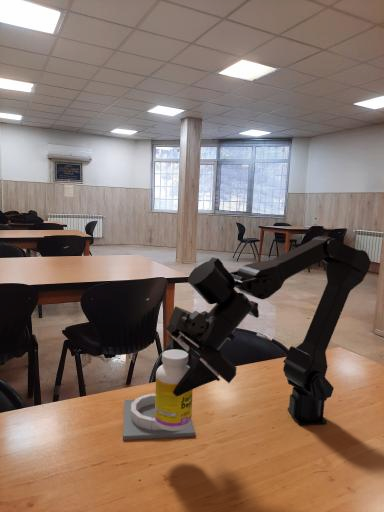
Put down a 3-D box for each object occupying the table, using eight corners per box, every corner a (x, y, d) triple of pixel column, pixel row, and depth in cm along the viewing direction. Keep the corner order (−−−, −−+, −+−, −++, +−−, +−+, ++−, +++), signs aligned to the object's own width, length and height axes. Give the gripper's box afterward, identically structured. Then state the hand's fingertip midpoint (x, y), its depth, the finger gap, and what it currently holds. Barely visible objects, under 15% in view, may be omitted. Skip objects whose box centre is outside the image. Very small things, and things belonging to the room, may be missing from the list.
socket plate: (185, 400, 89) (185, 389, 89) (194, 436, 75) (195, 422, 75) (124, 403, 87) (124, 391, 86) (122, 439, 73) (123, 426, 73)
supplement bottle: (183, 436, 65) (185, 364, 63) (148, 427, 67) (149, 357, 66) (196, 417, 71) (199, 350, 69) (164, 409, 73) (166, 345, 72)
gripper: (176, 281, 76) (121, 341, 73) (223, 304, 59) (156, 383, 56) (209, 316, 81) (159, 374, 77) (262, 346, 64) (201, 421, 61)
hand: (166, 385), depth 68 cm, fingers closed on supplement bottle, 7 cm apart
